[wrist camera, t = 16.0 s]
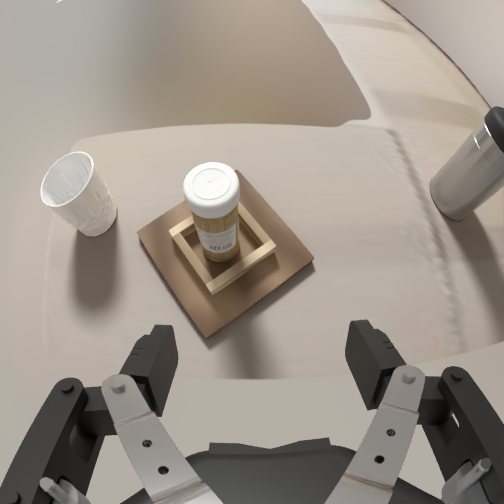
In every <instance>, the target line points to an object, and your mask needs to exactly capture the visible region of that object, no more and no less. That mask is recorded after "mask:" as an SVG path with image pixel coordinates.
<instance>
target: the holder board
mask: <svg viewBox="0 0 504 504" xmlns="http://www.w3.org/2000/svg"><path fill="white" fill-rule="evenodd" d="M234 172H235V173H236V174H237V176H238V179H239V185H240V197H239V201H238V220H239V236H238V239H239V250H238V252H237V253H236V255H235V256H234V257H233V258H232V259H231V260H229V261H226V262H214V261H212V260H210V259H208V258H207V257H206V256H205V254H204V253H203V250H202V244H201V242H200V239H199V236H198V233H197V230H196V227H195V224H194V221H193V216H192V212H191V210H190V209H189V207H188V205H187V203H186V200H185V201H183V202H182V203H180V204H179V205H177V206H175V207H174V208H172V209H171V210H169V211H168V212H166V213H165V214H163V215H161V216H160V217H158V218H157V219H155V220H154V221H152V222H151V223H149V224H148V225H146V226H145V227H143V228H142V229H140V230H139V231H137V234H138V236H139V237H140V239H141V241H142V242H143V244H144V246H145V247H146V249H147V251H148V252H149V254H150V256H151V257H152V259H153V261H154V262H155V264H156V265H157V267H158V269H159V270H160V272H161V273H162V275H163V277H164V278H165V280H166V281H167V283H168V284H169V286H170V287H171V289H172V290H173V292H174V294H175V295H176V297H177V298H178V300H179V301H180V303H181V304H182V306H183V307H184V308H185V310H186V311H187V313H188V314H189V316H190V317H191V319H192V320H193V322H194V323H195V324H196V326H197V327H198V329H199V330H200V331H201V333H202V334H203V336H204V337H205V338H206V339H207V338H209V337H210V336H212V335H213V334H214V333H216V332H217V331H219V330H220V329H222V328H223V327H224V326H226V325H227V324H229V323H230V322H231V321H233V320H234V319H236V318H237V317H238V316H240V315H241V314H242V313H244V312H245V311H247V310H248V309H249V308H251V307H252V306H253V305H255V304H256V303H258V302H259V301H260V300H262V299H263V298H264V297H266V296H267V295H268V294H270V293H271V292H272V291H274V290H275V289H276V288H278V287H279V286H280V285H282V284H283V283H284V282H286V281H287V280H288V279H290V278H291V277H292V276H293V275H295V274H296V273H297V272H299V271H300V270H301V269H303V268H304V267H305V266H306V265H308V264H309V263H310V262H312V261H313V259H314V257H313V256H312V254H311V253H310V252H309V251H308V250H307V248H306V247H305V246H304V245H303V244H302V243H301V241H300V240H299V239H298V238H297V237H296V235H295V234H294V233H293V232H292V231H291V230H290V228H289V227H288V226H287V225H286V224H285V223H284V222H283V220H282V219H281V218H280V217H279V216H278V215H277V213H276V212H275V211H274V210H273V209H272V208H271V207H270V205H269V204H268V203H267V202H266V201H265V200H264V199H263V198H262V196H261V195H260V194H259V193H258V192H257V191H256V190H255V189H254V187H253V186H252V185H251V184H250V183H249V182H248V181H247V180H246V179H245V178H244V176H243V175H242V174H241V173H240V172H239V171H238V170H235V171H234Z"/></svg>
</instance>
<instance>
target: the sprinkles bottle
mask: <svg viewBox="0 0 504 504" xmlns="http://www.w3.org/2000/svg"><path fill="white" fill-rule="evenodd" d="M183 192H184V196H185V200H186V203H187V205H188V207H189V209H190V210H191V212H192V216H193V221H194V224H195V227H196V230H197V233H198V236H199V239H200V242H201V244H202V250H203V253H204V254H205V256H206V257H207V258H208V259H210V260H212V261H214V262H226V261H229V260H231V259H232V258H233V257H234V256H235V255H236V253H237V252H238V250H239V239H238V236H239V220H238V201H239V197H240V185H239V179H238V176H237V174H236V173H235V172H234V170H233V169H231V168H230V167H229V166H227V165H225V164H222V163H216V162H210V163H204V164H201V165H199V166H197V167H195V168H194V169H192V170H191V171H190V172H189V173H188V175H187V176H186V178H185V180H184V183H183Z"/></svg>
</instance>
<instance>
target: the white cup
mask: <svg viewBox="0 0 504 504" xmlns="http://www.w3.org/2000/svg"><path fill="white" fill-rule="evenodd" d="M40 194H41V199H42V201H43V202H44V203H45V204H46V205H47V206H48V207H49V208H50V209H51V210H53V211H54V212H55V213H56V214H57V215H59V216H60V217H61V218H62V219H63V220H65V221H66V222H67V223H68V224H70V225H71V226H73V227H74V228H76V229H78V230H79V231H80V232H82V233H83V234H85V235H86V236H93V237H96V236H98V235H100V234H103V233H105V232H106V231H107V230H108V229H109V228H110V227H111V226H112V224H113V222H114V220H115V218H116V215H117V206H116V204H115V201H114V199H113V198H112V196H111V194H110V191H109V189H108V188H107V185H106V184H105V182H104V180H103V178H102V176H101V174H100V173H99V171H98V169H97V167H96V166H95V164H94V162H93V160H92V158H91V157H90V156H89V155H88V154H87V153H84V152H73V153H70V154H68V155H66V156H64V157H62V158H60V159H59V160H58V161H57V162H56V163H54V164H53V165H52V167H51V168H50V169H49V170H48V172H47V173H46V175H45V177H44V179H43V181H42V185H41V191H40Z"/></svg>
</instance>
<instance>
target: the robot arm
mask: <svg viewBox="0 0 504 504" xmlns="http://www.w3.org/2000/svg"><path fill="white" fill-rule="evenodd" d="M503 186H504V108H501V107H497V106H496V107H493V108H492V109H491V110H490V111H489V112H488V113H487V115H486V116H485V117H484V118H483V120H482V121H481V122H480V123H479V125H478V126H477V127H476V128H475V130H474V131H473V132H472V134H471V135H470V136H469V137H468V138H467V140H466V141H465V142H464V143H463V144H462V146H461V147H460V148H459V149H458V150H457V151H456V153H455V154H454V155H453V156H452V157H451V158H450V159H449V161H448V162H447V163H446V164H445V165H444V166H443V167H442V168H441V170H440V171H439V172H438V173H437V174H436V175H435V176H434V177H433V178H432V180H431V182H430V192H431V195H432V198H433V200H434V202H435V204H436V205H437V207H438V208H439V210H440V211H441V212H442V213H443V214H444V215H446V216H447V217H448V218H450V219H452V220H456V221H459V220H462V219H463V218H465V217H466V216H467V215H469V214H470V213H471V212H473V211H474V210H475V209H477V208H478V207H479V206H480V205H482V204H483V203H484V202H485V201H486V200H488V199H489V198H490V197H491V196H493V195H494V194H495V193H496V192H497V191H498V190H500V189H501V188H502V187H503ZM345 357H346V361H347V363H348V366H349V368H350V370H351V373H352V375H353V377H354V379H355V382H356V384H357V386H358V389H359V391H360V394H361V396H362V398H363V401H364V403H365V405H366V408H367V410H372V409H377V412H376V414H375V416H374V419H373V421H372V423H371V425H370V427H369V429H368V431H367V433H366V435H365V437H364V439H363V441H362V443H361V445H360V446H359V448H358V450H357V452H356V451H354V450H351V449H349V448H345V447H341V446H336V445H331V444H330V441H329V438H322V439H313V440H304V441H298V442H295V443H291V444H288V445H284V446H280V447H277V448H273V449H266V448H260V447H254V446H249V445H244V444H239V443H238V444H236V443H210V445H209V450H208V451H203V452H198V453H196V454H192V455H190V456H188V457H186V458H184V456H183V455H182V453H181V452H180V451H179V450H178V448H177V446H176V445H175V443H174V442H173V441H172V439H171V438H170V436H169V435H168V433H167V432H166V430H165V429H164V427H163V425H162V424H161V422H160V421H159V419H158V417H161V416H162V413H163V410H164V407H165V403H166V400H167V397H168V393H169V390H170V387H171V384H172V380H173V378H174V374H175V371H176V368H177V365H178V351H177V346H176V341H175V336H174V330H173V327H172V325H155V326H154V328H153V330H152V332H151V334H150V335H144V336H142V337H141V338H140V339H139V340H137V342H136V344H135V345H134V347H133V349H132V351H131V353H130V355H129V356H128V358H127V360H126V362H125V363H124V365H123V367H122V369H121V371H120V373H119V374H117V375H113V376H110V377H109V378H107V379H106V380H105V381H104V382H103V383H102V386H100V387H87V388H84V386H83V384H82V382H81V381H80V380H78V379H76V378H65V379H63V380H61V381H59V382H58V383H57V384H56V385H55V386H54V388H53V389H52V391H51V393H50V394H49V396H48V397H47V399H46V401H45V402H44V404H43V406H42V407H41V409H40V411H39V413H38V414H37V416H36V418H35V420H34V421H33V423H32V425H31V427H30V428H29V430H28V432H27V434H26V436H25V438H24V440H23V441H22V443H21V445H20V447H19V449H18V451H17V453H16V455H15V457H14V459H13V461H12V463H11V465H10V468H9V469H8V472H7V474H6V476H5V478H4V480H3V483H2V485H1V487H0V504H91V503H90V501H89V500H88V499H87V498H86V493H87V490H88V486H89V483H90V480H91V477H92V474H93V470H94V467H95V464H96V461H97V458H98V455H99V452H100V449H101V446H102V443H103V440H104V437H105V436H106V435H118V436H119V438H120V441H121V443H122V445H123V447H124V449H125V452H126V453H127V456H128V458H129V459H130V462H131V464H132V465H133V467H134V469H135V471H136V473H137V475H138V477H139V479H140V480H141V482H142V484H143V486H144V488H143V489H141V490H140V491H138V492H137V493H136V494H134V495H133V496H131V497H130V498H128V499H127V500H125V501H123V502H122V503H120V504H504V424H503V423H502V421H501V419H500V418H499V416H498V415H497V413H496V412H495V410H494V409H493V407H492V406H491V404H490V403H489V401H488V400H487V399H486V397H485V396H484V394H483V393H482V391H481V390H480V389H479V387H478V386H477V384H476V383H475V382H474V380H473V379H472V377H471V376H470V375H469V373H468V372H467V371H465V370H464V369H462V368H460V367H455V366H451V367H447V368H446V369H444V371H443V373H442V375H441V377H427V376H425V375H424V373H423V372H422V371H421V370H420V369H419V368H417V367H414V366H410V365H407V364H406V363H405V361H404V360H403V358H402V357H401V356H400V354H399V353H398V351H397V350H396V348H394V345H393V344H392V342H391V341H390V340H389V338H388V337H387V335H386V334H385V333H383V332H382V331H380V330H379V329H374V328H373V327H372V326H371V324H370V323H369V321H368V320H357V321H351V322H350V326H349V331H348V337H347V342H346V348H345ZM453 413H454V415H455V417H456V418H457V420H458V423H459V427H458V425H457V424H456V422H455V420H454V418H453V416H452V414H453ZM417 424H420V425H422V427H423V430H424V432H425V434H426V436H427V438H428V441H429V443H430V445H431V448H432V450H433V452H434V455H435V457H436V460H437V462H438V464H439V467H440V470H441V472H442V475H443V477H444V480H445V482H446V483H445V484H444V486H443V488H442V498H441V500H440V499H438V498H436V497H434V496H432V495H430V494H428V493H426V492H424V491H422V490H421V489H419V488H417V487H415V486H413V485H411V484H410V483H408V482H406V481H404V480H402V479H401V478H399V477H398V475H399V473H400V470H401V467H402V465H403V462H404V460H405V457H406V454H407V452H408V449H409V446H410V443H411V440H412V437H413V434H414V430H415V427H416V425H417Z"/></svg>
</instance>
